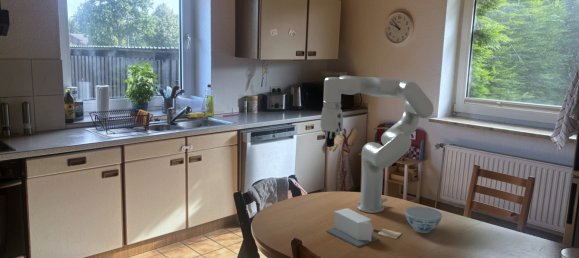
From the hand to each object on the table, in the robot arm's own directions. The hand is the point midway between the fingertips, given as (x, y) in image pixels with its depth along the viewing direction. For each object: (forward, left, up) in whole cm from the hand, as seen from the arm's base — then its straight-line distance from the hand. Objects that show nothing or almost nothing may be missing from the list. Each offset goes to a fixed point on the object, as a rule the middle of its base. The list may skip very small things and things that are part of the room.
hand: (330, 146), depth 219 cm
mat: (+10, +25, -31) cm, 41 cm away
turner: (-2, +29, -31) cm, 42 cm away
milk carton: (+7, +15, -27) cm, 32 cm away
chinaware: (-19, +38, -31) cm, 53 cm away
